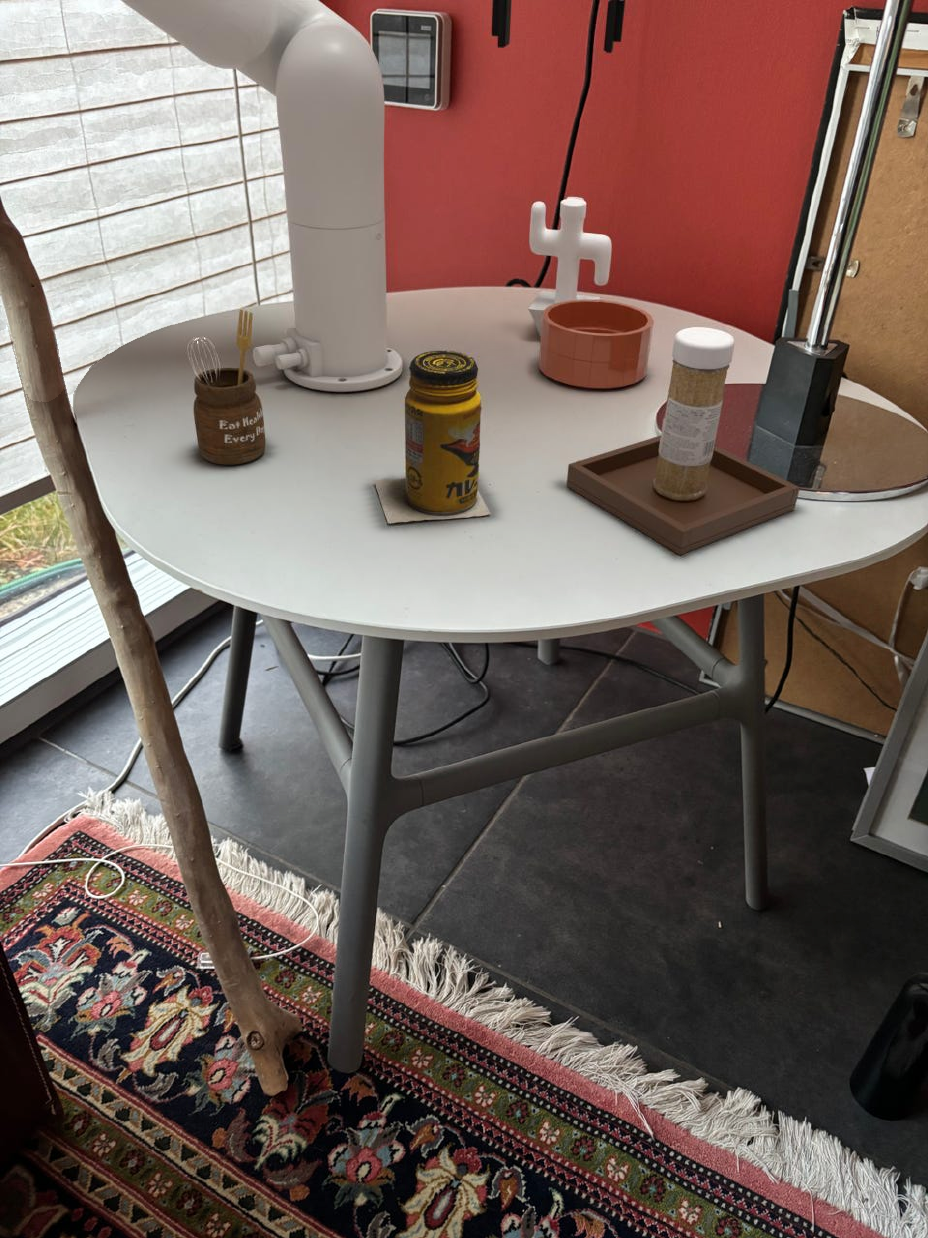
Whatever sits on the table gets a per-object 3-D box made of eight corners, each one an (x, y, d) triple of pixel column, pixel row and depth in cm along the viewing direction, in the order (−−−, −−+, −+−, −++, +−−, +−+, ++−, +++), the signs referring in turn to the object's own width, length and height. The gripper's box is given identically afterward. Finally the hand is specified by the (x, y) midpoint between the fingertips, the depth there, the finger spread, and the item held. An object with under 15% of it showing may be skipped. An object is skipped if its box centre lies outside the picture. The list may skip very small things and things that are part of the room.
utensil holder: (185, 453, 87) (164, 321, 80) (238, 431, 92) (223, 303, 85) (230, 473, 85) (212, 337, 78) (282, 449, 89) (271, 317, 82)
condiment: (490, 516, 80) (497, 374, 73) (387, 525, 78) (384, 381, 71) (470, 475, 85) (474, 341, 78) (374, 483, 84) (370, 346, 77)
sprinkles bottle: (676, 473, 85) (701, 321, 78) (717, 493, 83) (748, 337, 75) (640, 488, 83) (663, 332, 75) (681, 509, 80) (709, 349, 72)
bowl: (586, 400, 100) (592, 342, 96) (517, 364, 107) (520, 310, 104) (667, 377, 105) (676, 322, 102) (596, 345, 113) (602, 293, 110)
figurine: (596, 348, 112) (612, 210, 104) (517, 338, 114) (525, 202, 106) (606, 328, 118) (621, 196, 109) (530, 319, 120) (538, 189, 111)
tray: (679, 555, 75) (683, 532, 74) (566, 486, 84) (568, 463, 83) (794, 509, 82) (800, 487, 81) (678, 449, 91) (681, 428, 90)
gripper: (459, -202, 77) (455, 48, 87) (680, -198, 75) (650, 57, 85) (474, -192, 83) (469, 40, 93) (679, -188, 81) (651, 49, 91)
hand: (555, 48), depth 89 cm, fingers open, 9 cm apart
